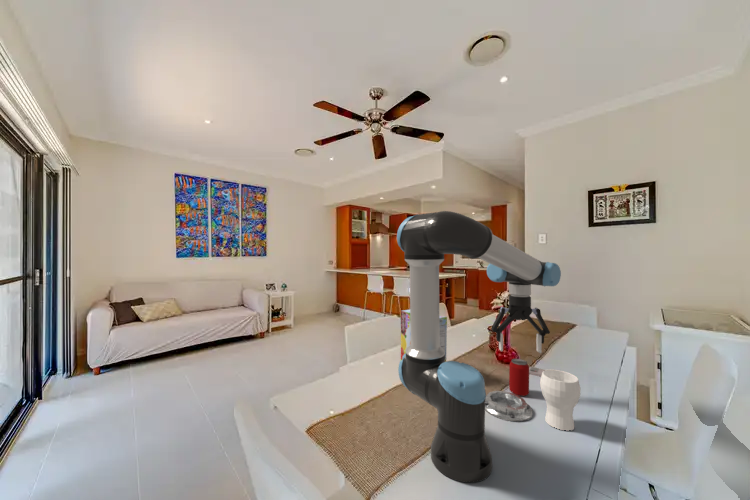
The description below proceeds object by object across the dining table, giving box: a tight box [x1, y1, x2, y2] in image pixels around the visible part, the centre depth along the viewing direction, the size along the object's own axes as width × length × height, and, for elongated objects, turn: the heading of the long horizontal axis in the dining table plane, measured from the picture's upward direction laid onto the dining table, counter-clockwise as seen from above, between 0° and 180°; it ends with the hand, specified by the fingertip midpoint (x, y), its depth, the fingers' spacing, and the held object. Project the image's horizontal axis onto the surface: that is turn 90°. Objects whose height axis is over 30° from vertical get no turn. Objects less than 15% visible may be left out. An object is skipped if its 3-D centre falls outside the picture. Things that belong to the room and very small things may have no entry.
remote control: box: [529, 366, 546, 378], centre depth 128 cm, size 7×16×3 cm, turn 53°
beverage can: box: [508, 358, 530, 397], centre depth 111 cm, size 7×7×12 cm
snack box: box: [400, 308, 448, 362], centre depth 131 cm, size 22×9×26 cm, turn 36°
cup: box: [539, 369, 581, 432], centre depth 91 cm, size 11×11×15 cm
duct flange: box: [485, 390, 534, 423], centre depth 100 cm, size 16×16×3 cm
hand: (519, 351), depth 111 cm, fingers open, 13 cm apart
